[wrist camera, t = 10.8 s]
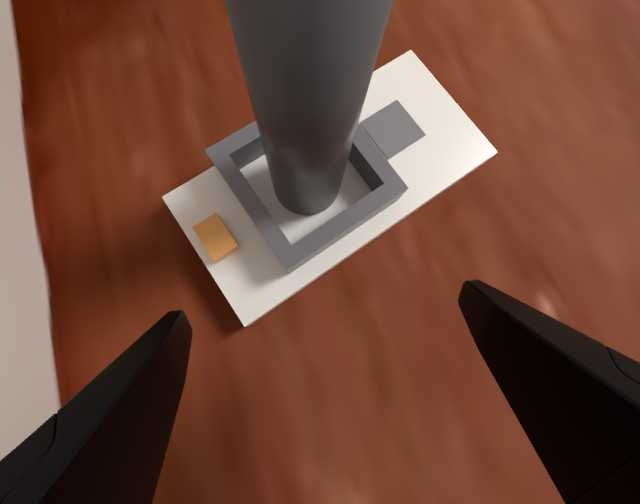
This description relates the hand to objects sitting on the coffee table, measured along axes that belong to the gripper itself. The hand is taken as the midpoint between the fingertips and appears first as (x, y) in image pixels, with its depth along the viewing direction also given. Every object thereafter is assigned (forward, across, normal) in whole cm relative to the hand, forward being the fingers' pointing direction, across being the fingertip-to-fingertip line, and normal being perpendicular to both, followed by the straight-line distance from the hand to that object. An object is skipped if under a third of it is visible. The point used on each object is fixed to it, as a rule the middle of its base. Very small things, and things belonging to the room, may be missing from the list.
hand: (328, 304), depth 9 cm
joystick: (+11, 0, 0) cm, 11 cm away
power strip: (+12, -2, +1) cm, 13 cm away
